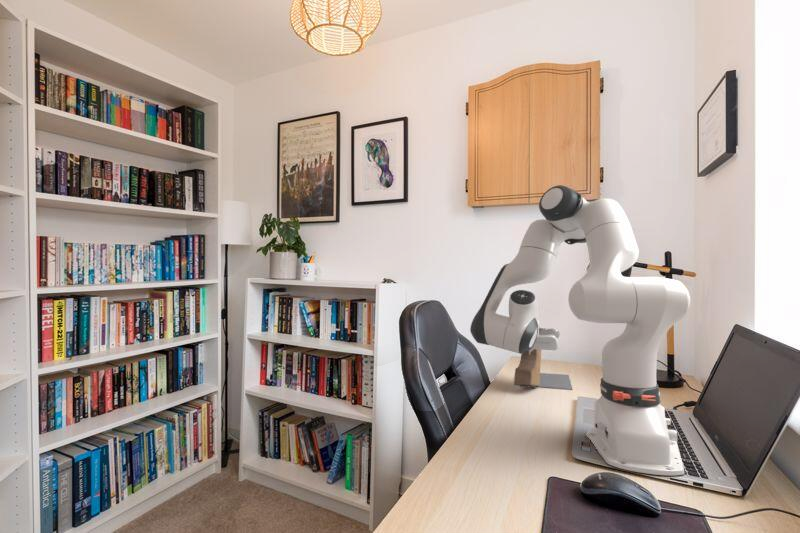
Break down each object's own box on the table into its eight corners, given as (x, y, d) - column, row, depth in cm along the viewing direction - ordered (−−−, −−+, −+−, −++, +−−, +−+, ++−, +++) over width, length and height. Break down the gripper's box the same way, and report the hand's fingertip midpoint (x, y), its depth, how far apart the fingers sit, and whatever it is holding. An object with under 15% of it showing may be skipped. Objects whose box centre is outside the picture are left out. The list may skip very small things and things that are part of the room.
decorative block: (530, 385, 125) (534, 323, 130) (513, 382, 129) (517, 322, 134) (540, 386, 134) (543, 328, 139) (523, 384, 137) (527, 327, 142)
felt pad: (572, 390, 131) (572, 388, 131) (513, 385, 137) (513, 384, 137) (568, 375, 148) (568, 374, 148) (516, 372, 154) (516, 371, 154)
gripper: (559, 321, 123) (558, 346, 132) (493, 319, 130) (496, 343, 139) (560, 337, 119) (559, 362, 128) (491, 335, 126) (495, 358, 135)
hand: (526, 352), depth 134 cm, fingers closed
